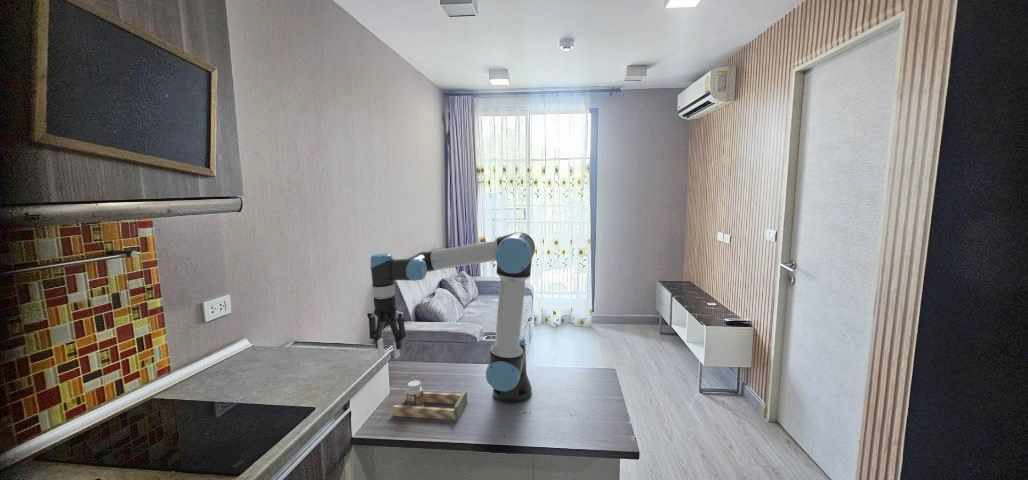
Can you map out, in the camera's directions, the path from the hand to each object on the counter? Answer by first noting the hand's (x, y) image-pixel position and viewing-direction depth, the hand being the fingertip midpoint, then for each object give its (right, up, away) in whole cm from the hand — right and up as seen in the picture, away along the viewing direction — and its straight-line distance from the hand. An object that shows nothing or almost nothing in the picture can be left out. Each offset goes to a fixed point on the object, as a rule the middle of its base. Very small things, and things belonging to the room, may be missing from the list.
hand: (389, 356), depth 147 cm
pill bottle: (+10, -20, +1) cm, 22 cm away
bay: (+16, -19, 0) cm, 25 cm away
